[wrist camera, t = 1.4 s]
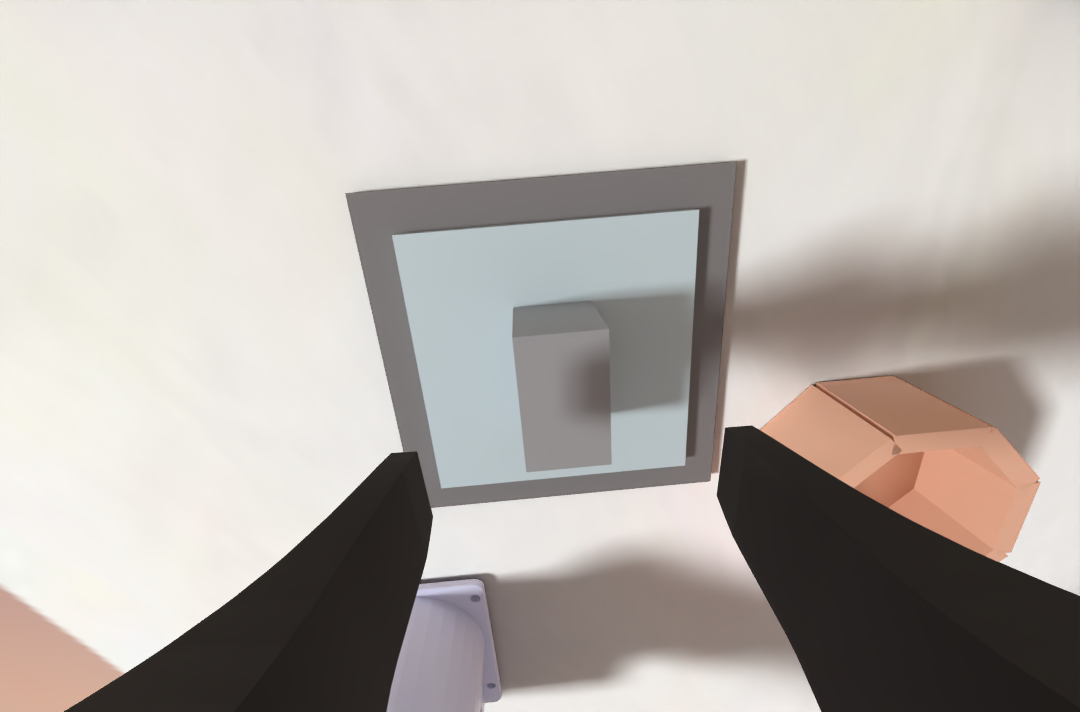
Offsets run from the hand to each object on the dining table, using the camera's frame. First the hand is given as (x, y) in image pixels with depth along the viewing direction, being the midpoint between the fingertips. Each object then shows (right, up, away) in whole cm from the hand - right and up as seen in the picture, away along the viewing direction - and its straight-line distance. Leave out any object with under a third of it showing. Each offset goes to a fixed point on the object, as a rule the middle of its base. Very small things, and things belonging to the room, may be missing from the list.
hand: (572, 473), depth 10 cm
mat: (0, +3, +8) cm, 9 cm away
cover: (0, +3, +8) cm, 8 cm away
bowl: (+14, -2, +11) cm, 18 cm away
